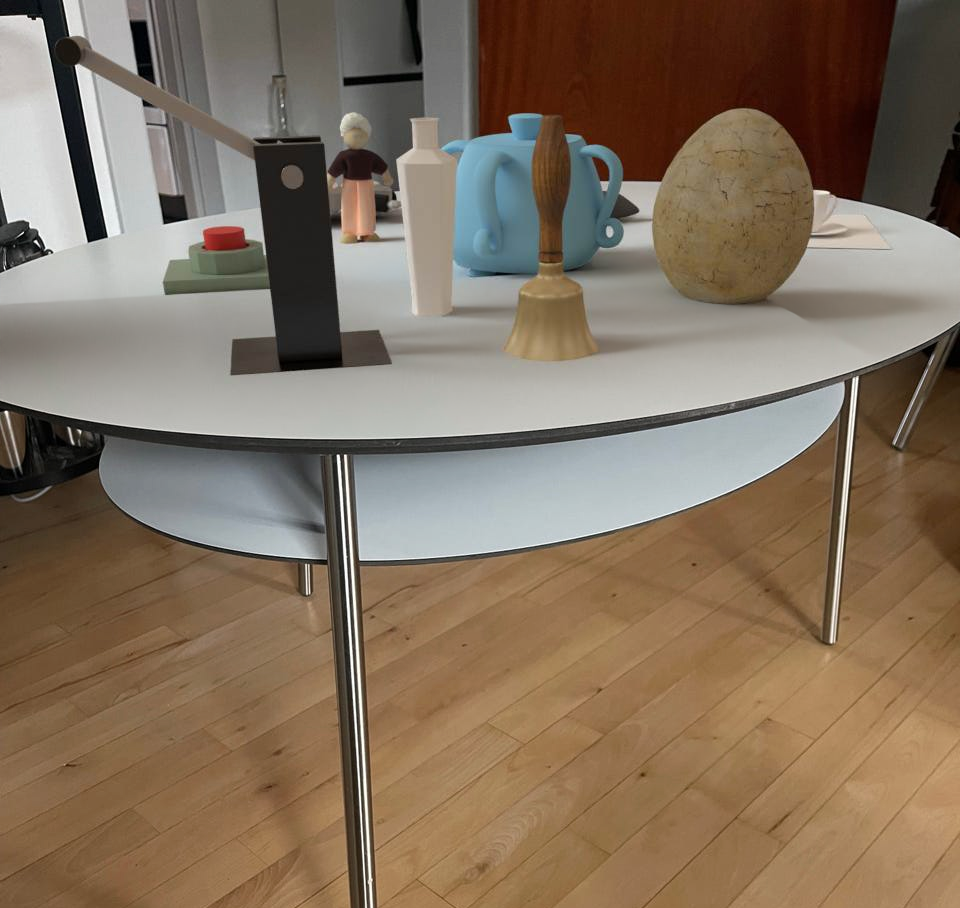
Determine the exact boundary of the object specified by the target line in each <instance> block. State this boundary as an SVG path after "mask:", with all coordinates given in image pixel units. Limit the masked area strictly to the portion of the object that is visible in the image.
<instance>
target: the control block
mask: <svg viewBox="0 0 960 908" xmlns="http://www.w3.org/2000/svg"><path fill="white" fill-rule="evenodd" d="M245 240H246V248H242V249H236V250H227V251H212V250H205V243H204V241H200V242H197V243H194V244H191V245H189V246H188V251H187V253H188V258H186V259H185V258H184V259H183V258H181V259H180V258H179V259H169V262H168V263H167V267H166V270H165V273H164V276H163V279H162V287H163V293H164V296H172V295H173V296H174V295H190V294H208V293H223V292H224V293H225V292H239V291H241V292H242V291H259V290H270V284H269V275H268V267H267V259H266V254H265V253H264V245H263V242H262V241H258V240H255V239H250V238H245Z"/></svg>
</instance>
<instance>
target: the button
mask: <svg viewBox="0 0 960 908" xmlns="http://www.w3.org/2000/svg"><path fill="white" fill-rule="evenodd" d="M202 235H203V242H204V243H205V250H212V251H227V250H236V249H242V248H246V240H245V239H246V234H245V228H244V227H241V226H235V225H225V226H223V225H221V226H213V227H207V228H205V229H203V230H202Z"/></svg>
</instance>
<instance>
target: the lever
mask: <svg viewBox="0 0 960 908" xmlns="http://www.w3.org/2000/svg"><path fill="white" fill-rule="evenodd" d="M54 55H55V57H56V58H57V60H58V61H59V62H60V63H61V64H62V65H64V66H67V67H74V66H78V65H80V66H82V67H83V68H85V69H87V70H89V71H91V72H92V73H95V75H98V76H100V77H102V78H103V79H105V80H107V81H109V82H111V83H112V84H114V85H116V86H118V87H120V88H122V89H123V90H125V91H127V92H128V93H131V94H132V95H134V96H136V97H138V98H139V99H141V100H143V101H145V102H147V103H148V104H151V105H153V106H154V107H156V108H158V109H159V110H162V111H163V112H165V113H167V114H169V115H170V116H172V117H174V118H176V119H177V120H179V121H181V122H184V123H185V124H187V125H189V126H190V127H193V128H194V129H196V130H198V131H199V132H202V133H203V134H205V135H206V136H209V137H210V138H213V139H214V140H215V141H218V142H219V143H221V144H223V145H225V146H227V147H229V148H230V149H232V150H234V151H236V152H238V153H239V154H242V155H243V156H245V157H247V158H248V159H250V160H252V161H254V162H255V157H254V149H253V145H254V144H260V143H258V142H256V141H254V140H253V138H251V137H249V136H247V135H245V134H244V133H242V132H240V131H238V130H236V129H234V128H233V127H231V126H230V125H228V124H226V123H224V122H222V121H221V120H219V119H217V118H215V117H213V116H211V115H210V114H208V113H206V112H204V111H202V110H201V109H200V108H197V107H195V106H194V105H192V104H190V103H189V102H186V101H184V100H183V99H181V98H180V97H178V96H176V95H175V94H172V93H170V92H168V91H167V90H165V89H163V88H161V87H159V86H158V85H156V84H154V83H152V82H150V81H149V80H147V79H145V78H144V77H142V76H140V75H138V74H136V73H135V72H133V71H131V70H129V69H127V68H126V67H124V66H122V65H120V64H119V63H116V62H115V61H113V60H111V59H109V58H108V57H106V56H104V55H102V54H101V53H98V52H97V51H95V50H94V49H93V48H92V44H91V43H90V41H89V40H88V39H87V38H86V37H84V36H81V35H72V36H67V37H61V38H59V39H58V40H56V43H55V45H54ZM277 143H283V142H281V141H277Z"/></svg>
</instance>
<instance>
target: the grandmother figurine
mask: <svg viewBox="0 0 960 908" xmlns="http://www.w3.org/2000/svg"><path fill="white" fill-rule="evenodd" d="M339 130H340V137H342V138H343V142H344V143H345V146H347V149H343V150H341V151H339V152H338V154H337V155H336V157H335V158H334V159H333V161H332V163H331V165H330V166H329V168H328V169H327V181H328V193H329V192H331V191H332V189H333V184H334V183H336V180H337V179H338V178H339V177H340V176H342V182H341V184H342V196H341V210H340V219H341V232H342V234H343V235H342V236H341V238H340V240H339V243H340V244H343V245H345V244H346V245H347V244H349V245H350V244H356V243H359V240H360V241H362V242H366V243H367V242H368V243H369V242H379V241H380V240H381V239H380V237H379V235H378V234H377V233H376V229H377V228H376V227H377V225H376V224H377V222H376V220H377V218H376V210H375V195H374V183H373V181H374V178H373V176H372V174H375V175H379V177H381V179H382V181H383V184H384V185H385V187H390V186H392V185H394V178H393V177H392V176H391V172H390V171H389V165H388V164H387V163H386V161H385V160H384V159H383V158H382V157H381V156H380V155H379V154H377V153H375V152H374V151H372V150H369V149H366V148H365V147H366V146H367V144H368V141H369V138H370V136H371V134H372V130H373V128H372V126H371V124H370V122H369V120H368V119H367V117H364V116H363V115H362V114H360V113H357V112H356V111H353V112H350V113H346V114H345V115H343V117H342V119H341V123H340V125H339ZM358 237H359V239H358Z"/></svg>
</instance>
